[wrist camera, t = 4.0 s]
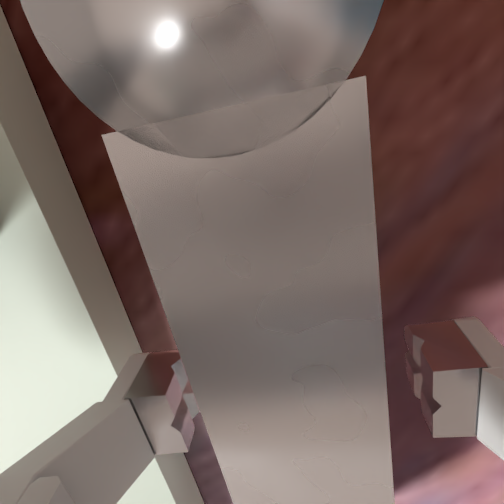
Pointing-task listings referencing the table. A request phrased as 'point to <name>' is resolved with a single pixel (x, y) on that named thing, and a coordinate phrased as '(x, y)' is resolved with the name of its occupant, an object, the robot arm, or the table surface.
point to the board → (56, 295)
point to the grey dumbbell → (251, 221)
